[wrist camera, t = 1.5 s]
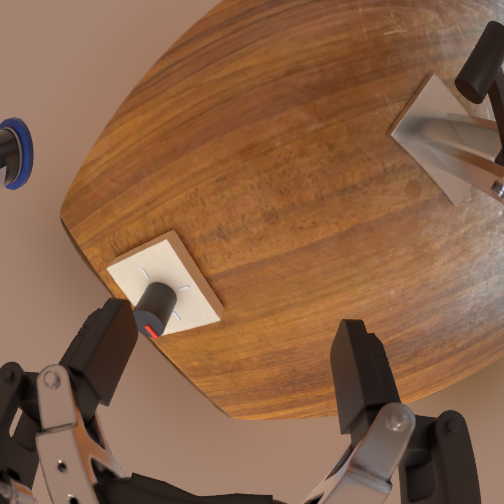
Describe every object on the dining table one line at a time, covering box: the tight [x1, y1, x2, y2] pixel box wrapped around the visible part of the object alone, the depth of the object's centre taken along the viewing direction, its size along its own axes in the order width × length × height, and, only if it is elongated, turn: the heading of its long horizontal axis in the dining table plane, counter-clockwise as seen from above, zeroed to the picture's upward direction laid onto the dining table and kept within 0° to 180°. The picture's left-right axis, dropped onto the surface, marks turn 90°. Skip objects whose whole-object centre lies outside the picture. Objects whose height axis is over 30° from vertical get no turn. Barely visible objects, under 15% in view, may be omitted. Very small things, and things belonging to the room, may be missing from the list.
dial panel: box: [106, 229, 224, 336], centre depth 32 cm, size 12×10×3 cm
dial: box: [133, 282, 177, 339], centre depth 29 cm, size 4×4×5 cm
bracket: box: [386, 73, 504, 207], centre depth 16 cm, size 12×9×13 cm
